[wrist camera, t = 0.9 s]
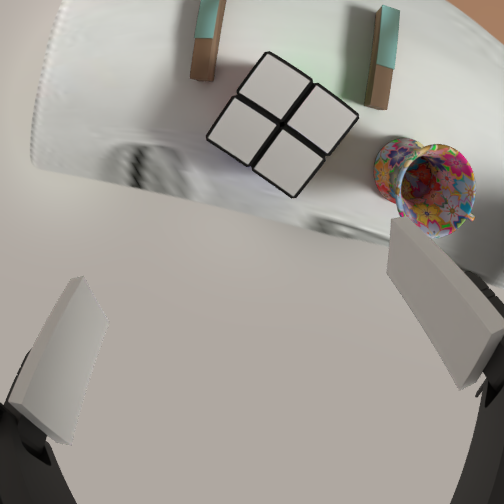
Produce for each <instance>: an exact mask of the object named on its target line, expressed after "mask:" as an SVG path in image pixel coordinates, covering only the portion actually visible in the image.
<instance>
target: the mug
mask: <svg viewBox="0 0 504 504" xmlns="http://www.w3.org/2000/svg"><path fill="white" fill-rule="evenodd" d="M374 178H375V182H376V185H377V187H378V189H379V191H380V192H381V194H382V195H383V196H384V197H385V198H386V199H387V200H389V201H391V202H393V203H395V204H396V205H397V209H398V212H399V215H400V217H405V216H407V217H408V218H409V219H410V220H411V221H412V222H413V223H415V224H416V225H417V226H418V227H419V228H420V229H421V230H422V231H423V232H424V233H425V234H426V235H427V236H428V237H429V238H439V237H443V236H446V235H449V234H451V233H452V232H454V231H455V230H457V229H458V228H459V227H460V226H461V225H462V224H463V223H464V222H465V220H466V219H467V218H468V219H469V220H470V221H473V220H474V219H475V216H474V215H473V214H472V213H471V210H472V207H473V204H474V200H475V193H476V184H475V178H474V174H473V171H472V168H471V166H470V164H469V163H468V161H467V160H466V158H465V157H464V156H463V155H462V154H461V153H460V152H459V151H457V150H456V149H454V148H452V147H450V146H446V145H442V144H433V145H428V146H425V147H424V146H423V145H422V144H421V143H419V142H417V141H415V140H413V139H408V138H401V139H396V140H393V141H391V142H389V143H388V144H387V145H385V146H384V147H383V148H382V149H381V151H380V152H379V154H378V156H377V158H376V161H375V165H374Z"/></svg>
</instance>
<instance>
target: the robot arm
mask: <svg viewBox="0 0 504 504" xmlns="http://www.w3.org/2000/svg"><path fill="white" fill-rule="evenodd" d="M387 275H388V276H389V278H390V279H391V280H392V282H393V283H394V285H395V286H396V288H397V289H398V291H399V292H400V294H401V295H402V297H403V298H404V300H405V301H406V302H407V304H408V306H409V307H410V309H411V310H412V312H413V313H414V315H415V316H416V318H417V319H418V321H419V322H420V324H421V326H422V327H423V329H424V330H425V332H426V334H427V335H428V337H429V339H430V340H431V342H432V344H433V345H434V347H435V349H436V350H437V352H438V354H439V355H440V357H441V359H442V361H443V362H444V364H445V366H446V367H447V369H448V371H449V373H450V375H451V377H452V378H453V380H454V382H455V384H456V386H457V388H458V389H459V390H461V389H464V388H466V387H468V386H470V385H472V384H474V383H476V381H477V380H478V378H479V377H480V375H481V374H482V372H483V373H484V374H485V376H486V379H485V381H484V383H483V384H482V385H481V387H480V388H479V390H478V391H477V393H476V395H475V397H478V396H479V395H480V393H481V392H482V397H481V403H480V407H479V412H478V417H477V422H476V426H475V430H474V434H473V438H472V441H471V445H470V449H469V452H468V455H467V459H466V462H465V465H464V468H463V471H462V474H461V477H460V480H459V482H458V485H457V488H456V490H455V493H454V495H453V498H452V500H451V503H450V504H504V304H503V303H502V301H501V300H500V299H499V298H498V297H497V296H495V293H494V292H493V291H492V290H491V289H489V287H488V286H487V284H486V283H485V282H484V281H483V280H482V279H481V278H480V277H478V276H477V275H475V274H473V273H472V272H470V271H467V272H463V271H462V270H461V269H460V268H459V267H458V266H457V265H456V264H455V263H454V262H453V260H452V259H451V258H450V257H449V256H448V255H447V254H446V253H445V252H444V251H443V250H442V249H441V248H440V247H439V246H438V245H437V244H436V243H435V242H434V241H433V240H431V239H430V238H429V237H428V236H427V235H426V234H425V233H424V232H423V231H422V230H421V229H420V228H419V227H418V226H417V225H416V224H415V223H413V222H412V221H411V220H410V219H409V218H408V217H407V216H405V217H399V218H394V219H391V230H390V243H389V255H388V266H387ZM108 325H109V320H108V319H107V317H106V315H105V314H104V312H103V310H102V308H101V307H100V305H99V303H98V301H97V300H96V298H95V296H94V294H93V292H92V290H91V289H90V287H89V285H88V283H87V281H86V279H85V277H84V276H82V277H77V278H72V279H71V280H70V281H69V283H68V284H67V286H66V288H65V289H64V291H63V293H62V294H61V296H60V298H59V299H58V301H57V303H56V304H55V306H54V308H53V310H52V312H51V313H50V315H49V317H48V318H47V320H46V322H45V324H44V326H43V328H42V329H41V331H40V333H39V335H38V337H37V339H36V341H35V343H34V345H33V347H32V348H31V350H30V351H29V352H28V353H27V354H26V356H25V358H24V360H23V363H22V364H21V368H20V369H19V371H18V373H17V374H18V375H17V376H16V377H15V379H14V382H13V384H12V386H11V389H10V391H9V394H8V396H7V398H6V401H5V403H4V405H3V404H2V403H0V504H77V503H76V501H75V499H74V497H73V495H72V493H71V491H70V490H69V487H68V486H67V483H66V481H65V479H64V477H63V475H62V473H61V470H60V468H59V465H58V463H57V461H56V458H55V456H54V453H53V451H52V448H51V446H50V444H49V443H48V442H47V441H46V437H47V436H49V437H50V438H51V439H53V440H54V441H55V442H57V443H61V444H66V445H72V441H73V437H74V432H75V429H76V425H77V421H78V417H79V413H80V410H81V407H82V403H83V400H84V396H85V392H86V389H87V386H88V383H89V379H90V376H91V373H92V370H93V367H94V364H95V361H96V358H97V355H98V352H99V349H100V347H101V344H102V341H103V338H104V335H105V333H106V330H107V327H108Z"/></svg>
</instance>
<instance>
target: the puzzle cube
mask: <svg viewBox="0 0 504 504" xmlns="http://www.w3.org/2000/svg"><path fill="white" fill-rule="evenodd" d="M358 119H359V114H358V113H357V112H356V111H355V110H353V109H352V108H351V107H350V106H348V105H347V104H346V103H345V102H343V101H342V100H341V99H339V98H338V97H337V96H335V95H334V94H333V93H331V92H330V91H329V90H327V89H326V88H325V87H323V86H322V85H321V84H319V83H313V80H312V78H311V77H309V76H308V75H306V74H305V73H303V72H302V71H300V70H299V69H297V68H296V67H294V66H293V65H291V64H290V63H288V62H287V61H285V60H283V59H282V58H280V57H279V56H277V55H275V54H274V53H272V52H270V51H269V52H265V53H264V54H263V55H262V57H261V58H260V59H259V60H258V62H257V63H256V64H255V66H254V67H253V68H252V70H251V71H250V72H249V74H248V75H247V77H246V78H245V79H244V81H243V82H242V83H241V85H240V86H239V88H238V89H237V95H235V96H232V97H231V99H230V100H229V101H228V103H227V104H226V106H225V107H224V109H223V110H222V112H221V113H220V115H219V116H218V118H217V119H216V121H215V122H214V124H213V125H212V127H211V128H210V130H209V131H208V133H207V135H206V140H207V141H208V142H210V143H211V144H213V145H214V146H216V147H217V148H219V149H221V150H222V151H224V152H225V153H227V154H228V155H230V156H231V157H233V158H234V159H236V160H237V161H239V162H240V163H242V164H243V165H245V166H246V167H248V166H251V167H252V171H253V172H255V173H256V174H258V175H259V176H261V177H262V178H263V179H265V180H266V181H268V182H269V183H271V184H272V185H273V186H275V187H276V188H278V189H279V190H280V191H282V192H283V193H285V194H286V195H287V196H289V197H290V198H297V196H298V195H299V194H300V193H301V191H302V190H303V189H304V188H305V186H306V185H307V184H308V183H309V181H310V180H311V179H312V177H313V176H314V175H315V174H316V172H317V171H318V170H319V169H320V167H321V166H322V165H323V164H324V162H325V161H326V160H325V156H330V155H331V154H332V152H333V151H334V150H335V149H336V147H337V146H338V145H339V144H340V142H341V141H342V140H343V138H344V137H345V136H346V135H347V133H348V132H349V131H350V130H351V128H352V127H353V126H354V124H355V123H356V122H357V121H358ZM282 122H284V124H282Z"/></svg>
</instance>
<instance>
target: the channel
mask: <svg viewBox="0 0 504 504" xmlns="http://www.w3.org/2000/svg"><path fill="white" fill-rule="evenodd" d="M225 4H226V0H201V3H200V8H199V13H198V19H197V24H196V30H195V36H194V38H195V44H194V51H193V57H192V64H191V71H190V79H194V80H197V81H213V80H214V73H215V66H216V59H217V53H218V46H219V40H220V33H221V27H222V21H223V16H224V10H225ZM399 17H400V10H397V9H394V8H391V7H388V6H385V5H382V7H381V8H380V9H379V10H378V11H377V12H376V17H375V27H374V37H373V46H372V54H371V62H370V69H369V76H368V83H367V90H366V96H365V102H364V106H367V107H371V108H374V109H378V110H387V107H388V101H389V94H390V88H391V81H392V74H393V70H394V68H395V60H396V51H397V41H398V30H399Z"/></svg>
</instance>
